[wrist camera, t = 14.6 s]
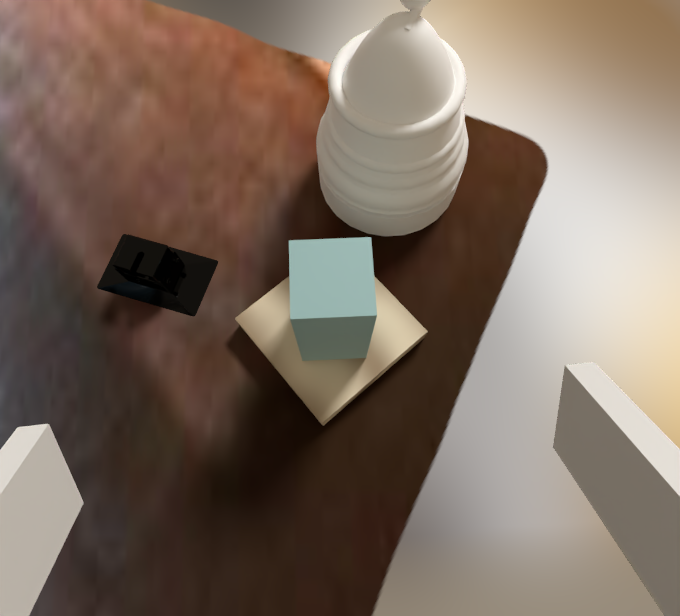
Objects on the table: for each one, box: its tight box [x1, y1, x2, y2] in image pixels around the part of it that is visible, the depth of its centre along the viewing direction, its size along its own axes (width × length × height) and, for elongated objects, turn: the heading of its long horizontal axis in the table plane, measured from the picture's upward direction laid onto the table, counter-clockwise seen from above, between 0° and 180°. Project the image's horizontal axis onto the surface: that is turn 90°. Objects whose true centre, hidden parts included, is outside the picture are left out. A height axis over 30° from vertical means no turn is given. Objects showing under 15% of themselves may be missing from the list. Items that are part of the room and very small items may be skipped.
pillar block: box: [289, 237, 377, 361], centre depth 35 cm, size 5×5×11 cm
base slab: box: [235, 276, 428, 426], centre depth 41 cm, size 11×11×2 cm
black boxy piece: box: [97, 234, 218, 316], centre depth 42 cm, size 12×7×5 cm, turn 73°
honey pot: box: [316, 0, 468, 236], centre depth 38 cm, size 13×13×18 cm
